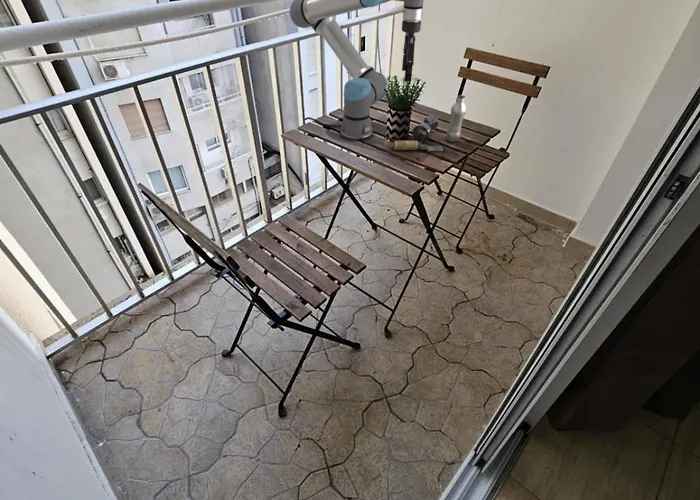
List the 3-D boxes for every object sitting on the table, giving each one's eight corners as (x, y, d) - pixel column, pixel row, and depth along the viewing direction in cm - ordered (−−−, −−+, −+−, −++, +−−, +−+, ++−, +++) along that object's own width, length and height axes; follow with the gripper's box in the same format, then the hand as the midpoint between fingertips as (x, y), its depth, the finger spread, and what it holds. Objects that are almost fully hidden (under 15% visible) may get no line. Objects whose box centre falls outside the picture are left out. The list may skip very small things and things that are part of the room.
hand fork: (394, 151, 170) (395, 143, 168) (393, 147, 173) (394, 139, 171) (443, 151, 171) (444, 143, 168) (441, 147, 174) (443, 139, 171)
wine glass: (420, 118, 186) (408, 129, 175) (434, 111, 180) (424, 122, 170) (427, 133, 188) (416, 145, 178) (441, 127, 183) (431, 139, 173)
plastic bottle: (442, 139, 179) (449, 96, 166) (452, 135, 182) (460, 92, 169) (452, 145, 175) (461, 101, 162) (462, 140, 178) (472, 97, 165)
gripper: (400, 13, 163) (395, 66, 178) (404, 27, 145) (399, 85, 159) (418, 13, 163) (412, 66, 178) (425, 27, 145) (417, 86, 159)
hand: (406, 75), depth 168 cm, fingers open, 13 cm apart
